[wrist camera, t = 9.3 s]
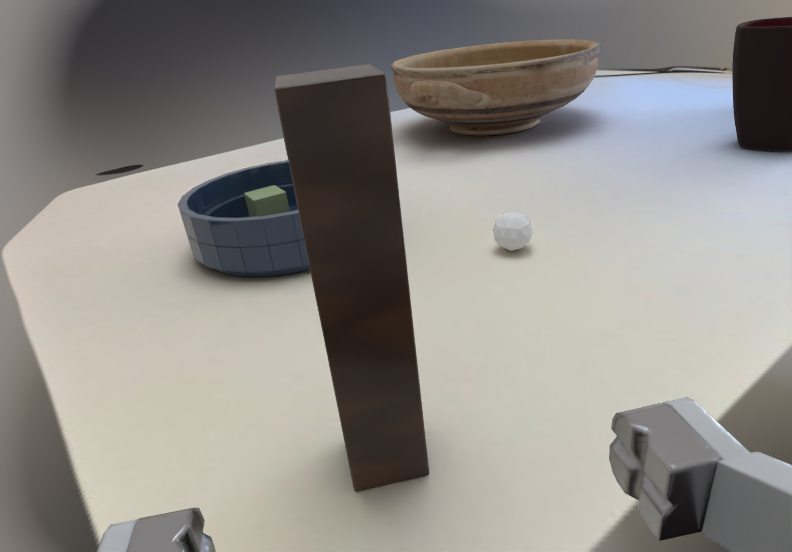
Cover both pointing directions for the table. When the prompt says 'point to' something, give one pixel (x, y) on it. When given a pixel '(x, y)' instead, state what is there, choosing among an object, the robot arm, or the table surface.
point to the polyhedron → (512, 230)
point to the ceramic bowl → (496, 83)
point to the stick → (357, 263)
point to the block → (266, 201)
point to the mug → (763, 84)
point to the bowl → (244, 225)
